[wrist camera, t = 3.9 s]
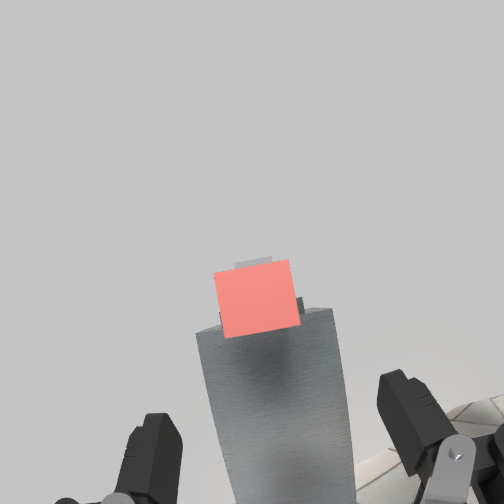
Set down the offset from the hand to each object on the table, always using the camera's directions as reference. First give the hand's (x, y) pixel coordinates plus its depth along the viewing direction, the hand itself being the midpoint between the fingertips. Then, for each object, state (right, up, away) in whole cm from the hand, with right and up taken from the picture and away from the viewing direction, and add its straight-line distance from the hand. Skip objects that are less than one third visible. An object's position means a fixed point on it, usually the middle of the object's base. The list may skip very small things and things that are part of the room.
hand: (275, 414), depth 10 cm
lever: (0, 0, +17) cm, 17 cm away
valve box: (+6, -32, +15) cm, 36 cm away
